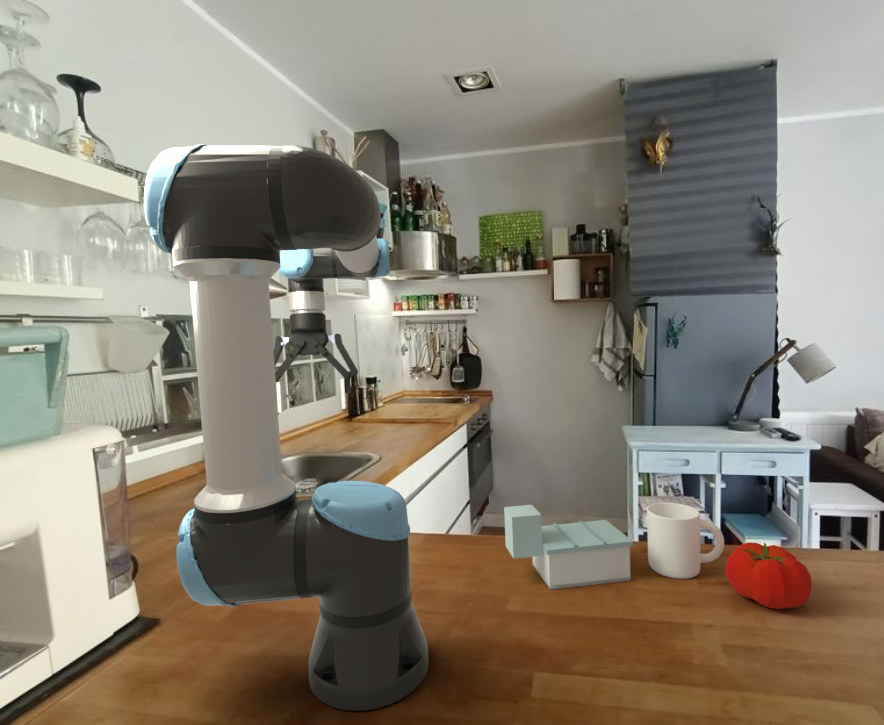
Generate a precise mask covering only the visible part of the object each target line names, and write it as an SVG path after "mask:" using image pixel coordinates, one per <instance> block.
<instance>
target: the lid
mask: <svg viewBox="0 0 884 725" xmlns="http://www.w3.org/2000/svg"><path fill="white" fill-rule="evenodd" d="M503 511H504V535H505V536H504V537H505V541H504V542H505V547H506V549H507V551H508V552H509V554H510V556H511V558H512V559H524V558H525V559H526V558H532V557H536V556H543V553H542V549H543V550H544V551H545V553H546V554H547V555H552V554H562V553H571V552H581V551H590V550H600V549H610V548H619V547H629V546H630V547H633V546H634V541H633V540H632V539H631V538H630V537H629V536H627V535H626V534H625V533H624V532H622V531H621V530H619V529H618V528H617V527H616V526H614V525H613V524H612V523H611V522H609V521H608V520H607V519H601V520H589V521H583V520H579V522H568V523H561V524H560V523H558V524H557V523H556V522H554V523H552V524H549V525H543V524H542V513H541V512H539V511H538V509H537V508H536V507H534V506H533V504H525V505H524V504H523V505H514V506H513V505H512V506H504V509H503Z"/></svg>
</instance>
